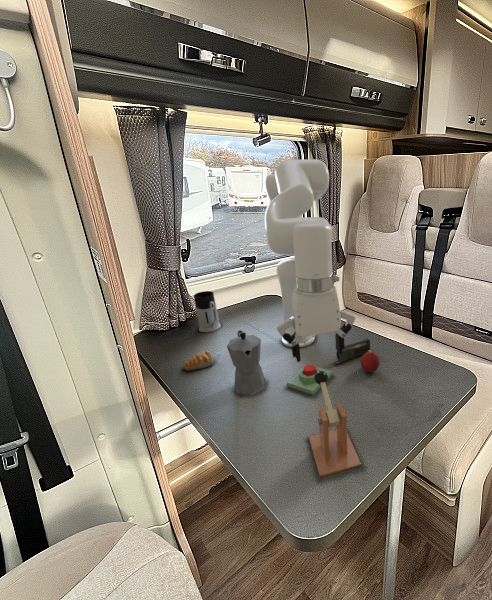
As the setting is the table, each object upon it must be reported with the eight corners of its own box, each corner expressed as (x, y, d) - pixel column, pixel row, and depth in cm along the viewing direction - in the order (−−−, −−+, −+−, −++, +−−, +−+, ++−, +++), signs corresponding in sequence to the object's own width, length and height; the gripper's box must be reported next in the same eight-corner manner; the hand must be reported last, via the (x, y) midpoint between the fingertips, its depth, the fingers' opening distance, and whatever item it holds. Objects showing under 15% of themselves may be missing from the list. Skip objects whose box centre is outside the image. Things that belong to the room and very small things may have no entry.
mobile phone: (366, 336, 112) (331, 348, 104) (372, 339, 110) (337, 352, 102) (366, 348, 114) (332, 361, 106) (371, 352, 112) (337, 365, 104)
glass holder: (215, 321, 140) (209, 289, 134) (230, 331, 130) (224, 297, 125) (195, 327, 134) (188, 294, 129) (209, 338, 124) (202, 303, 119)
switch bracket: (308, 440, 75) (305, 399, 70) (345, 431, 77) (344, 391, 73) (320, 480, 65) (317, 435, 60) (361, 468, 67) (361, 424, 63)
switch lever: (312, 376, 76) (313, 369, 73) (325, 374, 76) (326, 367, 74) (326, 429, 67) (327, 423, 65) (340, 426, 68) (342, 419, 66)
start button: (308, 368, 97) (307, 363, 96) (318, 371, 95) (317, 366, 94) (301, 374, 94) (301, 369, 93) (311, 377, 92) (311, 372, 92)
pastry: (186, 374, 101) (184, 364, 100) (180, 366, 106) (178, 356, 105) (215, 364, 107) (213, 354, 105) (209, 356, 112) (207, 347, 110)
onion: (368, 365, 104) (369, 343, 101) (382, 372, 100) (383, 349, 97) (357, 372, 100) (356, 350, 97) (371, 380, 96) (371, 357, 93)
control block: (308, 369, 102) (307, 359, 101) (332, 377, 98) (331, 366, 97) (287, 388, 93) (286, 377, 92) (313, 397, 89) (312, 385, 88)
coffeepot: (271, 394, 91) (264, 339, 84) (237, 404, 87) (228, 347, 81) (260, 367, 104) (253, 318, 98) (230, 375, 100) (221, 324, 94)
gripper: (348, 274, 71) (349, 341, 77) (271, 282, 67) (278, 353, 73) (360, 283, 64) (360, 356, 70) (274, 293, 60) (282, 370, 66)
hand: (318, 355), depth 72 cm, fingers open, 9 cm apart
